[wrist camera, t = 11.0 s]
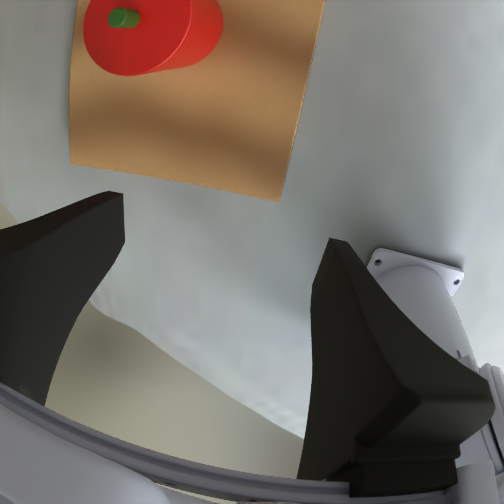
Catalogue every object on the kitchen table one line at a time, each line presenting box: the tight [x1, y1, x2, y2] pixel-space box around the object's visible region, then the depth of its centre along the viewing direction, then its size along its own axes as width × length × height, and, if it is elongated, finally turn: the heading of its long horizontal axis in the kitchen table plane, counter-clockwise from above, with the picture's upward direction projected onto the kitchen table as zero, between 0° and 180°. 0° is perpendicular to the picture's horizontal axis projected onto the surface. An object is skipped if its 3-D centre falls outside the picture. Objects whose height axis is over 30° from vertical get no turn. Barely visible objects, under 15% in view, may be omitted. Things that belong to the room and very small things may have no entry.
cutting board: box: [69, 0, 325, 202], centre depth 14 cm, size 18×14×2 cm
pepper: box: [83, 0, 223, 76], centre depth 11 cm, size 5×5×6 cm
